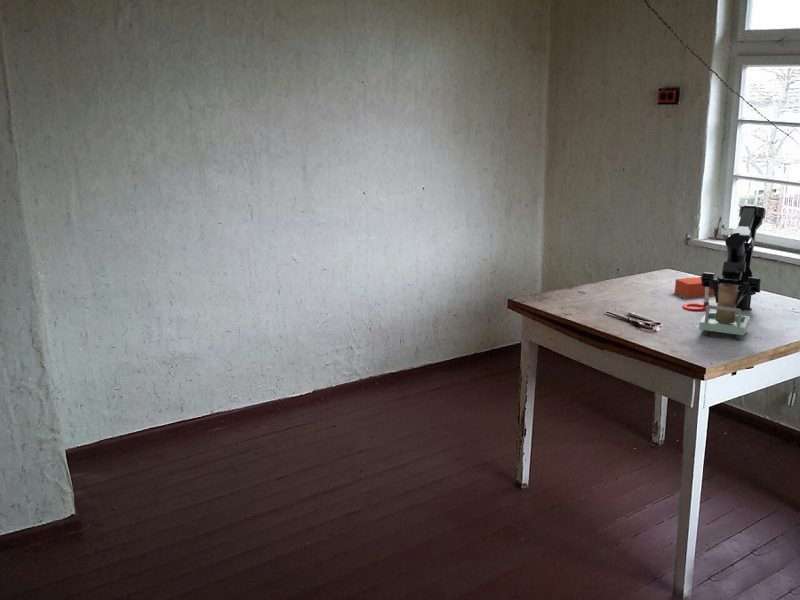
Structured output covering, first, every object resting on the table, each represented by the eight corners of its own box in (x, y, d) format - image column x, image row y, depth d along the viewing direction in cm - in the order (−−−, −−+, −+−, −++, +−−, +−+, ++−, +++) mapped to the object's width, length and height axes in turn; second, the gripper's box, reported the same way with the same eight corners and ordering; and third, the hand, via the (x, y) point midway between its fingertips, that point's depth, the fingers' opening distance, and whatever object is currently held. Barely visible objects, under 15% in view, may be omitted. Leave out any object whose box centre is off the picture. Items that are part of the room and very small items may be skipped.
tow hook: (684, 311, 287) (710, 311, 285) (685, 278, 283) (711, 278, 281) (681, 305, 295) (706, 305, 292) (682, 273, 291) (707, 273, 289)
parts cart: (705, 324, 270) (708, 294, 267) (748, 330, 263) (751, 299, 260) (698, 335, 258) (701, 304, 255) (743, 341, 251) (746, 310, 248)
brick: (687, 298, 303) (689, 284, 301) (674, 293, 311) (675, 279, 309) (726, 294, 307) (727, 280, 306) (711, 289, 316) (712, 275, 314)
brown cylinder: (723, 317, 263) (727, 282, 260) (738, 321, 258) (742, 286, 255) (711, 320, 260) (715, 285, 257) (726, 324, 255) (730, 289, 252)
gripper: (704, 249, 261) (695, 288, 255) (763, 254, 251) (755, 294, 245) (706, 266, 269) (697, 304, 263) (764, 272, 260) (756, 311, 254)
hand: (726, 303), depth 256 cm, fingers closed on brown cylinder, 6 cm apart
